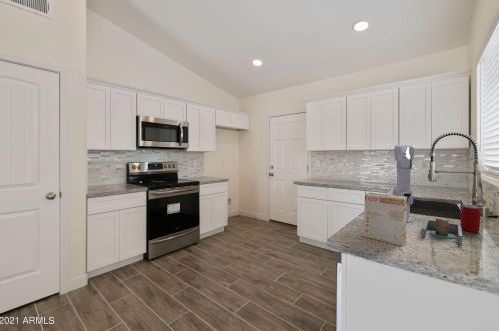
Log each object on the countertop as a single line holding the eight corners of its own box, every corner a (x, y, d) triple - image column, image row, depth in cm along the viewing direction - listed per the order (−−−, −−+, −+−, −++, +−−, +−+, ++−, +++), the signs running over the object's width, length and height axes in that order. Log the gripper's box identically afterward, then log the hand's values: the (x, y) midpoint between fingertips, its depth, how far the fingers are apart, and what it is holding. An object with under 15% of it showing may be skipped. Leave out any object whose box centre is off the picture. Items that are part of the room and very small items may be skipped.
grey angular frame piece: (425, 227, 118) (426, 219, 118) (460, 232, 109) (460, 224, 109) (422, 237, 103) (422, 229, 103) (461, 245, 94) (462, 236, 94)
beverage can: (479, 230, 113) (480, 206, 112) (479, 234, 108) (481, 208, 107) (460, 227, 117) (461, 204, 116) (460, 230, 112) (461, 206, 112)
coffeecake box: (406, 241, 99) (407, 196, 98) (402, 246, 94) (404, 198, 92) (368, 232, 109) (369, 192, 108) (363, 236, 104) (364, 194, 103)
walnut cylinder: (434, 232, 109) (434, 217, 109) (445, 233, 107) (446, 218, 107) (437, 235, 105) (437, 220, 105) (449, 236, 103) (450, 221, 103)
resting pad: (430, 230, 112) (430, 230, 112) (454, 235, 107) (454, 234, 107) (428, 235, 106) (428, 234, 106) (455, 240, 100) (455, 239, 100)
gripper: (396, 180, 126) (395, 204, 126) (391, 182, 115) (390, 209, 116) (412, 181, 121) (411, 206, 122) (408, 184, 110) (407, 212, 111)
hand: (402, 208), depth 118 cm, fingers open, 7 cm apart
